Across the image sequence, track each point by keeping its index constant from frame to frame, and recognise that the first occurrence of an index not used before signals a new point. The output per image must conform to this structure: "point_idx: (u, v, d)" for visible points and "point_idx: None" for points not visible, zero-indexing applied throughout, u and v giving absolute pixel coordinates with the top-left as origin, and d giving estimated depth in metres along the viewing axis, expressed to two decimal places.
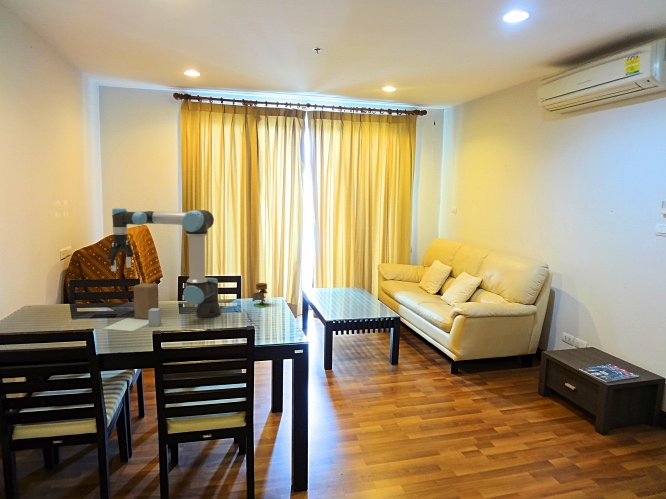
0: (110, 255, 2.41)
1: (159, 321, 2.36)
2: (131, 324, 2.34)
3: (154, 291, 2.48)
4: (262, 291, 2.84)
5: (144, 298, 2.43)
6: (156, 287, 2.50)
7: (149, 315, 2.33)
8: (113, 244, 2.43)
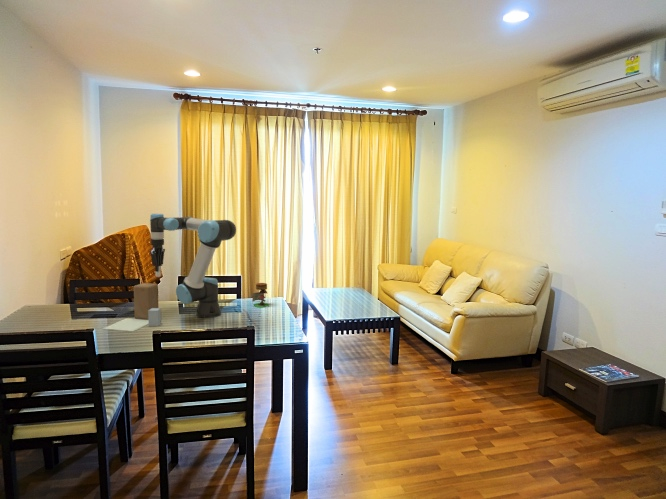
0: (154, 262, 2.55)
1: (159, 321, 2.36)
2: (131, 324, 2.34)
3: (154, 291, 2.48)
4: (262, 291, 2.84)
5: (144, 298, 2.43)
6: (156, 287, 2.50)
7: (149, 315, 2.33)
8: (152, 252, 2.52)
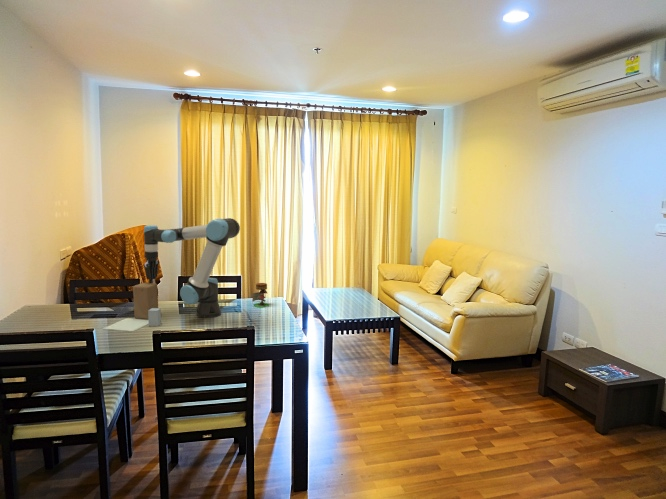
0: (148, 275, 2.49)
1: (159, 321, 2.36)
2: (131, 324, 2.34)
3: (153, 291, 2.47)
4: (262, 291, 2.84)
5: (143, 298, 2.43)
6: (155, 287, 2.49)
7: (149, 315, 2.33)
8: (146, 265, 2.47)
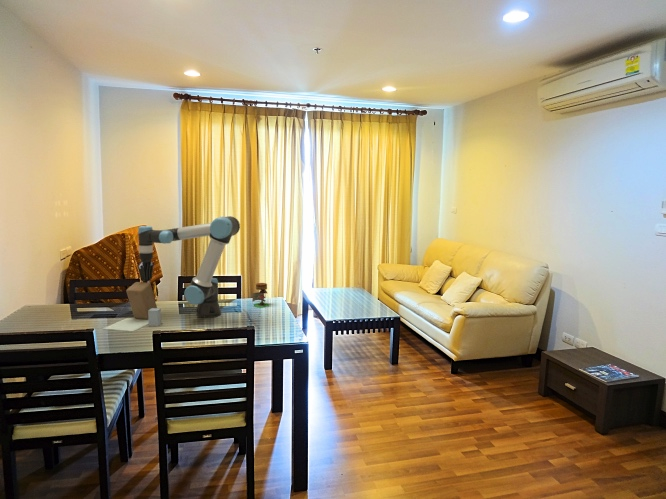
0: (142, 277, 2.44)
1: (159, 321, 2.36)
2: (131, 324, 2.34)
3: (147, 292, 2.42)
4: (262, 291, 2.84)
5: (139, 301, 2.39)
6: (149, 287, 2.43)
7: (149, 315, 2.33)
8: (140, 267, 2.41)
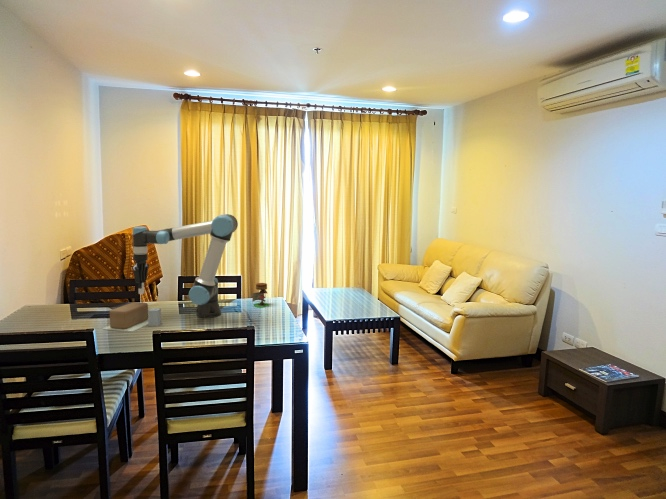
0: (136, 279, 2.39)
1: (159, 321, 2.36)
2: None
3: (130, 318, 2.28)
4: (262, 291, 2.84)
5: None
6: (127, 314, 2.26)
7: (149, 315, 2.33)
8: (134, 268, 2.36)
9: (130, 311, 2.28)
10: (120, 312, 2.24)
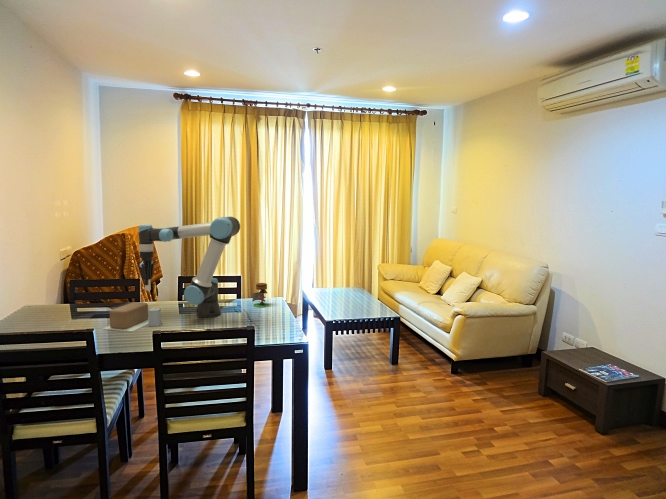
0: (143, 276, 2.44)
1: (159, 321, 2.36)
2: None
3: (130, 318, 2.28)
4: (262, 291, 2.84)
5: None
6: (127, 314, 2.26)
7: (149, 315, 2.33)
8: (141, 265, 2.41)
9: (130, 311, 2.28)
10: (120, 312, 2.24)
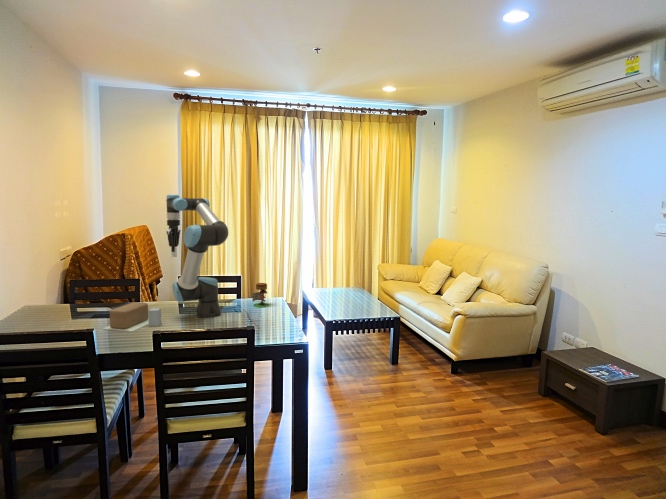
0: (170, 242, 2.59)
1: (159, 321, 2.36)
2: None
3: (130, 318, 2.28)
4: (262, 291, 2.84)
5: None
6: (127, 314, 2.26)
7: (149, 315, 2.33)
8: (169, 232, 2.56)
9: (130, 311, 2.28)
10: (120, 312, 2.24)
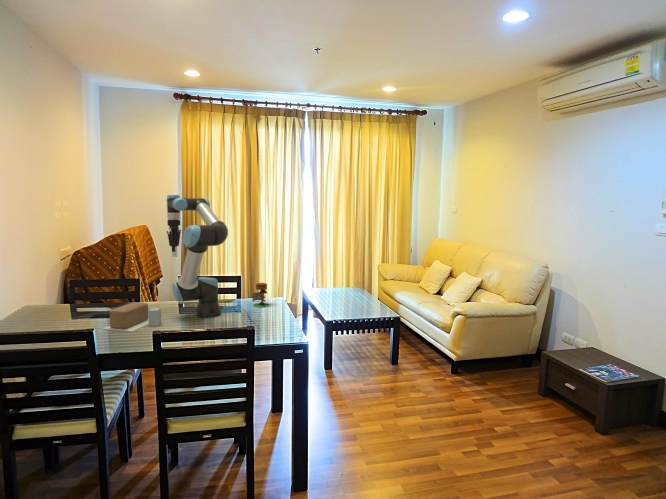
0: (171, 242, 2.59)
1: (159, 321, 2.36)
2: None
3: (130, 318, 2.28)
4: (262, 291, 2.84)
5: None
6: (127, 314, 2.26)
7: (149, 315, 2.33)
8: (169, 232, 2.57)
9: (130, 311, 2.28)
10: (120, 312, 2.24)
